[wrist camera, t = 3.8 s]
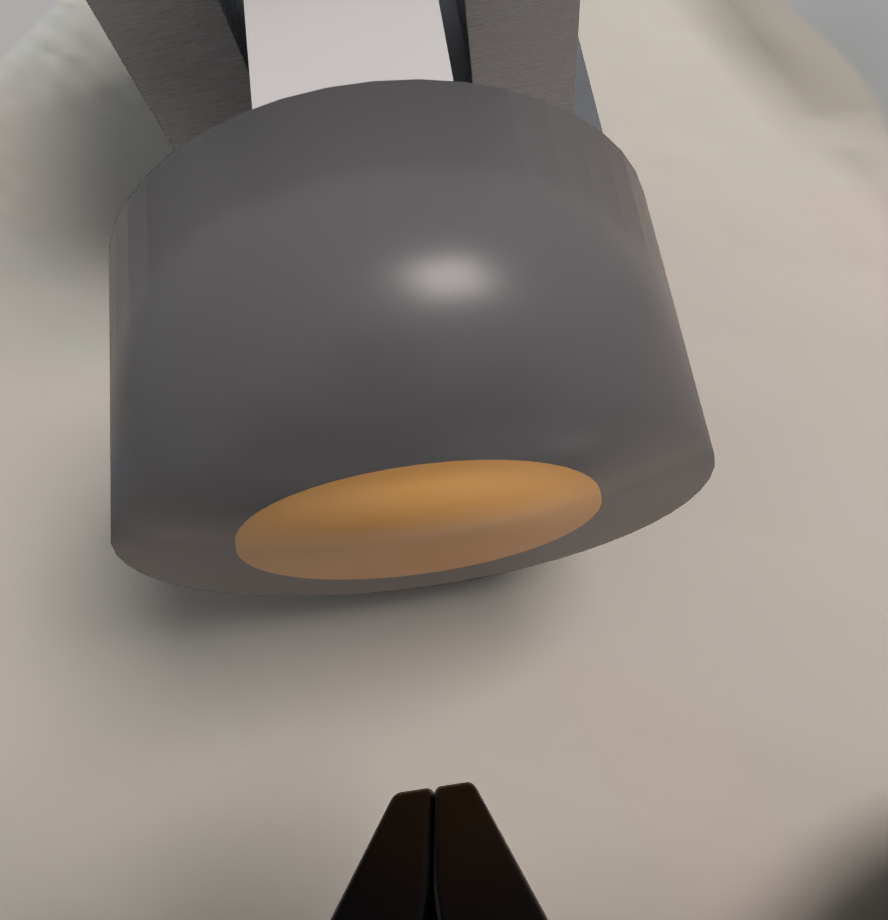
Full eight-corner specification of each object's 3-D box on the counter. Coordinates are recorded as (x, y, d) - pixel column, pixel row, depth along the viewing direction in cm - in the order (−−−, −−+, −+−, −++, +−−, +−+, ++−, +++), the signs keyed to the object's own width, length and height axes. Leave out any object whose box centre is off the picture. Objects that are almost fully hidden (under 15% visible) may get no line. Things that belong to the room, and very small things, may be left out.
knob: (668, 552, 15) (795, 353, 8) (235, 622, 16) (-40, 496, 8) (538, 8, 20) (539, -451, 12) (204, 73, 20) (7, -333, 13)
